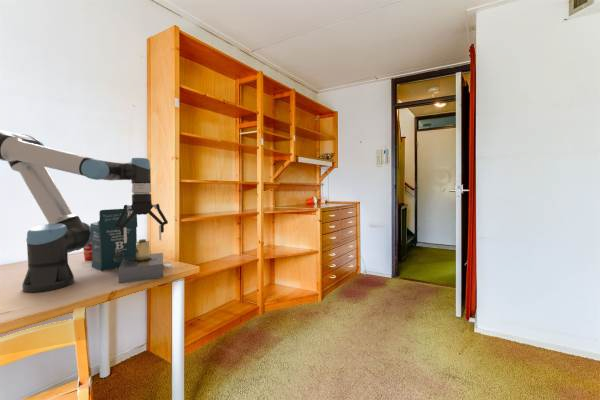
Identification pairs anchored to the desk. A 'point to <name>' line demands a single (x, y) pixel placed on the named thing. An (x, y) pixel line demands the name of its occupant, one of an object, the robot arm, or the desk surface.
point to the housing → (141, 268)
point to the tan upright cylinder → (142, 251)
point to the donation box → (112, 239)
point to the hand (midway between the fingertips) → (143, 241)
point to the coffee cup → (88, 252)
